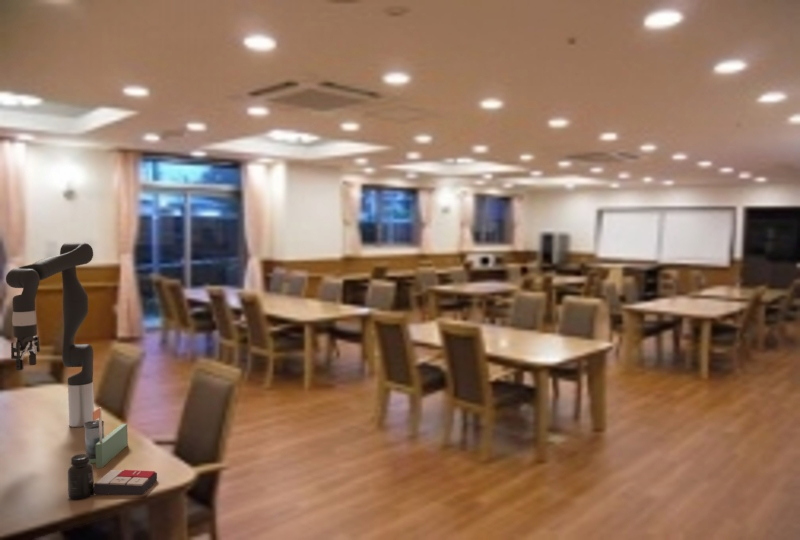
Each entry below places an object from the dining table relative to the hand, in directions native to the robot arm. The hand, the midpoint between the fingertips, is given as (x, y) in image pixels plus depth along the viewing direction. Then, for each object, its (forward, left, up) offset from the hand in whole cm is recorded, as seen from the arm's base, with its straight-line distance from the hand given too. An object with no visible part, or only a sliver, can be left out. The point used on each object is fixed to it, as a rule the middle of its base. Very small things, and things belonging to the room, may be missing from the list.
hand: (26, 367), depth 223 cm
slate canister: (+10, +28, -30) cm, 42 cm away
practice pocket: (+12, +29, -30) cm, 43 cm away
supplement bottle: (+43, +38, -30) cm, 65 cm away
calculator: (+38, +49, -31) cm, 69 cm away
